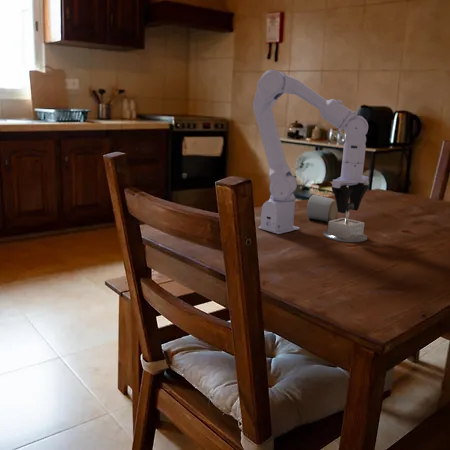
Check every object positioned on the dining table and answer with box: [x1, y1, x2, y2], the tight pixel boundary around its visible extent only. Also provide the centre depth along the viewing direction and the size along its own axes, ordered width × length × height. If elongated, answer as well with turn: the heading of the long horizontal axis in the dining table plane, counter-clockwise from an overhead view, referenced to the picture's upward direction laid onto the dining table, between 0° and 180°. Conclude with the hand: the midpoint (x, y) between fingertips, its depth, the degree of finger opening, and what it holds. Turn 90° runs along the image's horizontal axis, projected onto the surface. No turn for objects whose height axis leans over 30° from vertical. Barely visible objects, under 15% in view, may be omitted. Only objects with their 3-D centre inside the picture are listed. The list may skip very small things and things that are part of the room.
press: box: [323, 217, 368, 244], centre depth 142 cm, size 12×12×4 cm
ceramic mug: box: [305, 194, 339, 223], centre depth 160 cm, size 11×8×8 cm
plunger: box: [338, 201, 357, 225], centre depth 141 cm, size 5×5×6 cm
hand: (347, 211), depth 140 cm, fingers open, 5 cm apart
